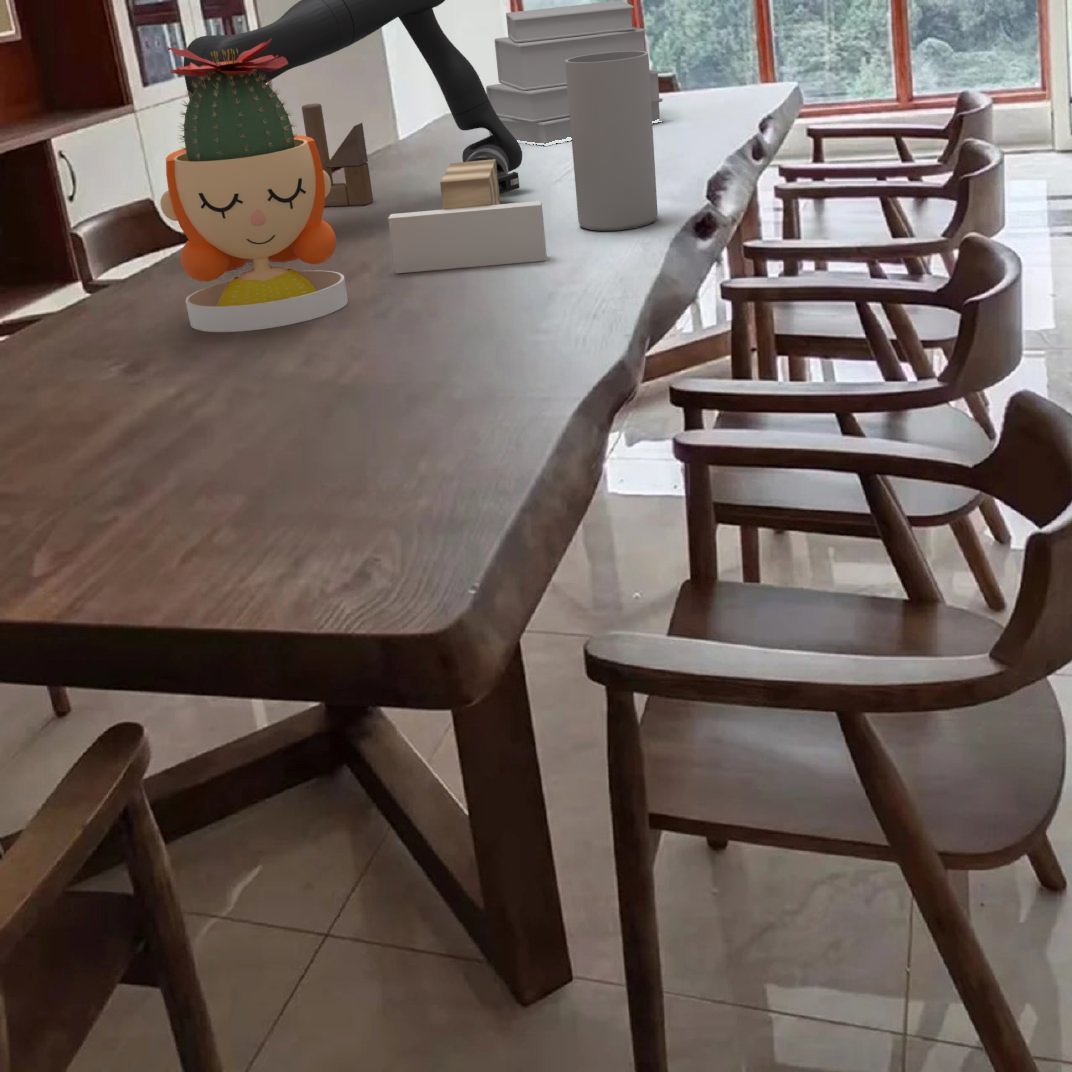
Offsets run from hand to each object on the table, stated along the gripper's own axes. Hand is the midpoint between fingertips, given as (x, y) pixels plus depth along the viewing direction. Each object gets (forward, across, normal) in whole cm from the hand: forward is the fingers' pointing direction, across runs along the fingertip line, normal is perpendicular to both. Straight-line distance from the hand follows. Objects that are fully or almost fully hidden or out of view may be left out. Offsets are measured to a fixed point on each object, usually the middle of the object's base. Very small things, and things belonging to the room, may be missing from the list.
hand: (476, 194), depth 218 cm
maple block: (+10, 0, +7) cm, 12 cm away
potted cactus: (+35, -27, +7) cm, 45 cm away
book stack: (-102, +13, +7) cm, 103 cm away
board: (+19, 0, +6) cm, 20 cm away
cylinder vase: (-1, +22, +7) cm, 23 cm away
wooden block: (-37, -29, +7) cm, 47 cm away
